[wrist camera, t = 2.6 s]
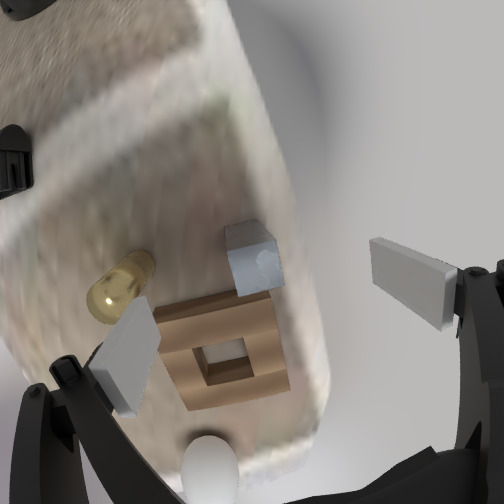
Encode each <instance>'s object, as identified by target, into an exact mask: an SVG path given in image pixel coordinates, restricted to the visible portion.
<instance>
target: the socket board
mask: <svg viewBox="0 0 504 504" xmlns="http://www.w3.org/2000/svg"><path fill="white" fill-rule="evenodd" d="M152 315H153V317H154V320H155V322H156V325H157V327H158V330H159V332H160V335H161V337H162V338H161V341H160V344H159V346H158V352H159V354H160V356H161V358H162V360H163V362H164V365H165V367H166V369H167V371H168V373H169V375H170V377H171V379H172V381H173V383H174V385H175V387H176V389H177V391H178V393H179V395H180V397H181V399H182V400H183V402H184V404H185V406H186V408H187V410H188V411H194V410H200V409H207V408H213V407H219V406H224V405H229V404H235V403H240V402H244V401H249V400H253V399H258V398H262V397H266V396H270V395H274V394H278V393H282V392H286V391H289V390H291V389H290V384H289V380H288V375H287V370H286V365H285V361H284V356H283V351H282V347H281V342H280V337H279V333H278V328H277V323H276V319H275V314H274V310H273V305H272V301H271V297H270V295H269V292H268V290H265V291H261V292H257V293H253V294H249V295H245V296H241V297H238V293H237V289H236V290H232V291H228V292H224V293H220V294H216V295H211V296H207V297H203V298H199V299H194V300H190V301H185V302H181V303H177V304H172V305H168V306H163V307H159V308H155V310H154V312H153V314H152ZM242 337H243V339H244V342H245V346H246V349H247V352H248V356H247V357H243V358H239V359H234V360H230V361H225V362H220V363H215V364H210V365H208V364H207V362H206V359H205V356H204V354H203V351H202V349H201V347H202V346H207V345H211V344H216V343H221V342H225V341H230V340H234V339H238V338H242Z"/></svg>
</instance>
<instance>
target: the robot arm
mask: <svg viewBox="0 0 504 504" xmlns="http://www.w3.org/2000/svg"><path fill="white" fill-rule="evenodd" d="M54 1H56V0H0V5H1V8H2V10H3V12H4V13H5V15H7V16H8V17H10V18H11V19H13V20H23V19H26V18H28V17H31V16H33V15H35V14H36V13H38V12H40V11H41V10H43V9H45V8H46V7H48V6H49V5H50V4H52V3H53V2H54ZM369 243H370V252H371V263H372V276H373V283H374V284H375V285H377V286H379V287H380V288H381V289H383V290H384V291H385V292H387V293H388V294H390V295H391V296H393V297H394V298H395V299H397V300H398V301H400V302H401V303H402V304H404V305H405V306H407V307H408V308H409V309H411V310H412V311H413V312H415V313H416V314H418V315H419V316H420V317H422V318H423V319H425V320H426V321H427V322H429V323H430V324H431V325H432V326H434V327H435V328H436V329H438V330H439V331H443V330H445V329H447V328H448V327H450V326H452V324H453V316H454V313H455V314H456V315H458V316H459V323H458V328H457V335H456V338H458V337H459V342H460V406H459V419H458V430H457V437H456V443H455V447H454V449H452V450H446V451H442V452H438V453H436V452H435V451H434V450H433V448H432V447H431V446H429V447H427V448H426V449H424V450H422V451H420V452H419V453H417V454H415V455H413V456H411V457H409V458H408V459H406V460H404V461H402V462H400V463H398V464H396V465H395V466H394V467H393V468H391V469H390V470H388V471H387V472H386V473H384V474H383V475H382V476H380V477H379V478H378V479H376V480H375V481H373V482H372V483H370V484H369V485H367V486H366V487H364V488H363V489H360V490H357V491H352V492H345V493H338V494H330V495H321V496H312V497H308V498H305V499H301V500H297V501H293V502H289V503H284V504H504V259H503V260H500V261H498V262H497V269H496V272H493V273H489V272H488V271H487V270H486V269H485V268H481V267H469V268H466V269H465V270H461V269H459V268H457V267H454V266H452V265H449V264H447V263H444V262H443V261H440V260H438V259H435V258H432V257H430V256H427V255H425V254H422V253H420V252H417V251H415V250H412V249H410V248H407V247H405V246H402V245H399V244H397V243H394V242H392V241H389V240H387V239H384V238H381V237H378V238H374V239H370V240H369ZM161 338H162V337H161V335H160V332H159V330H158V327H157V325H156V322H155V320H154V317H153V315H152V312H151V309H150V307H149V304H148V301H147V299H146V296H141V297H137V298H133V300H132V301H131V303H130V304H129V305H128V307H127V308H126V310H125V311H124V313H123V314H122V315H121V317H120V318H119V320H118V321H117V323H116V324H115V326H114V327H113V329H112V330H111V332H110V333H109V335H108V336H107V338H106V339H105V341H104V342H102V343H101V344H100V345H99V346H98V347H97V348H96V349H95V350H94V352H93V353H92V355H91V356H90V358H89V360H88V361H87V362H86V364H85V366H84V367H83V369H82V367H81V365H80V363H79V362H78V360H77V358H76V357H75V356H74V355H66V356H63V357H60V358H59V359H57V360H56V361H54V362H53V363H52V364H51V366H50V368H49V371H50V373H51V374H52V376H53V378H54V379H55V381H56V383H57V384H58V386H59V387H60V389H58V390H54V391H51V392H50V391H49V390H48V388H47V387H46V385H45V384H44V383H37V384H34V385H31V386H30V387H28V388H27V390H26V391H25V393H24V395H23V398H22V402H21V407H20V412H19V416H18V421H17V427H16V432H15V438H14V446H13V453H12V461H11V473H10V493H9V494H10V497H9V504H89V500H88V496H87V491H86V486H85V481H84V475H83V469H82V462H81V456H80V447H79V440H80V442H81V444H82V446H83V448H84V450H85V453H86V455H87V457H88V459H89V461H90V463H91V465H92V467H93V469H94V470H95V472H96V474H97V476H98V478H99V480H100V481H101V483H102V485H103V487H104V488H105V490H106V492H107V493H108V495H109V497H110V498H111V500H112V501H113V503H114V504H186V503H185V502H184V501H183V500H182V499H181V498H180V497H179V496H178V495H177V494H176V493H175V492H174V491H173V490H172V489H171V488H170V487H169V486H168V485H167V484H166V483H165V482H164V481H163V480H162V478H161V477H160V476H159V475H158V474H157V473H156V472H155V471H154V469H153V468H152V467H151V466H150V465H149V464H148V462H147V461H146V460H145V459H144V458H143V456H142V455H141V454H140V453H139V451H138V450H137V449H136V448H135V446H134V445H133V444H132V442H131V441H130V440H129V438H128V437H127V436H126V434H125V433H124V432H123V430H122V429H121V427H120V426H119V425H118V423H117V422H116V420H115V419H114V418H113V416H112V415H111V414H112V412H113V409H115V410H116V412H117V413H118V415H119V416H120V417H121V418H125V417H136V416H137V413H138V409H139V406H140V403H141V399H142V396H143V393H144V390H145V386H146V383H147V380H148V377H149V374H150V371H151V368H152V364H153V361H154V358H155V355H156V352H157V349H158V346H159V344H160V341H161Z"/></svg>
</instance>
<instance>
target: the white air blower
mask: <svg viewBox="0 0 504 504" xmlns="http://www.w3.org/2000/svg"><path fill="white" fill-rule="evenodd" d="M181 480H182V485H183V490H184V493H185V496H186V498H187V500H188V503H189V504H234V502H235V499H236V496H237V492H238V487H239V467H238V463H237V459H236V456H235V454H234V452H233V451H232V449H231V448H230V446H229V445H228V444H227V443H226V442H225V441H224V440H222V439H220V438H218V437H216V436H211V435H207V436H202V437H200V438H197V439H195V440H193V441H192V442H191V443H190V445H189V446H188V447H187V449H186V451H185V453H184V455H183V459H182V464H181Z"/></svg>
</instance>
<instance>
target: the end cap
mask: <svg viewBox="0 0 504 504" xmlns="http://www.w3.org/2000/svg"><path fill="white" fill-rule="evenodd" d="M33 183H34V181H33V169H32V154H31V148H30V143H29V139H28V137H27V135H26V133H25V131H24V130H23V129H22V128H21V127H20V126H18V125H15V124H11V125H8V126H6V127H4V128H3V129H1V130H0V200H1V199H4V198H6V197H9V196H11V195H14V194H16V193H19V192H22V191H24V190H27V189H30V188H31V187H32V186H33Z"/></svg>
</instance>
